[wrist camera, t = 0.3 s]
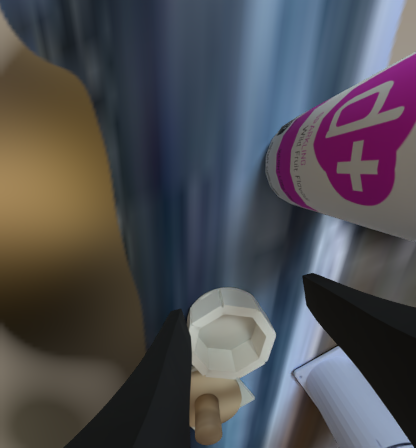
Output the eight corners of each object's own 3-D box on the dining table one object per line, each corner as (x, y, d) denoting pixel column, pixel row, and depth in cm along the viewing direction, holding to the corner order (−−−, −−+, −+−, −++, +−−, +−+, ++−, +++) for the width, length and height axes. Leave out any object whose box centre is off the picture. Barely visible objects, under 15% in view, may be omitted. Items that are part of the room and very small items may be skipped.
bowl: (274, 325, 24) (287, 350, 21) (213, 361, 25) (217, 391, 21) (237, 272, 22) (245, 290, 18) (171, 313, 22) (168, 338, 19)
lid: (252, 398, 26) (262, 437, 22) (196, 429, 27) (197, 473, 23) (216, 356, 24) (221, 392, 20) (157, 392, 24) (150, 433, 21)
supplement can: (250, 191, 19) (425, 243, 5) (282, 103, 17) (714, -241, 3) (321, 213, 20) (632, 310, 6) (357, 133, 19) (928, -8, 4)
